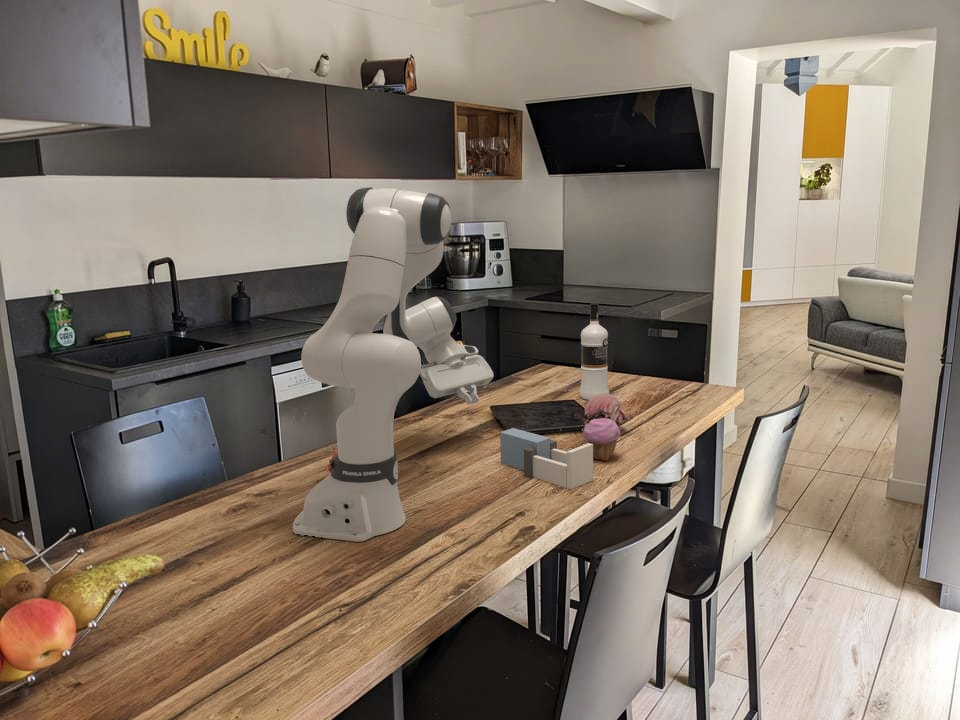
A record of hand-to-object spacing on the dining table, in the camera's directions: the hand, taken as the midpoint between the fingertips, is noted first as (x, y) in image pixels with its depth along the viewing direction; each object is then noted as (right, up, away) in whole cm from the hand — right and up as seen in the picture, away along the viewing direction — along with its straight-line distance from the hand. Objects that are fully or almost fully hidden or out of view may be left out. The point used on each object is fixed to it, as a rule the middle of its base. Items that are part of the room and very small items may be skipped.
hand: (474, 402), depth 197 cm
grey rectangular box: (+12, -15, -10) cm, 21 cm away
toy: (+36, -9, +14) cm, 39 cm away
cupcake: (+31, -13, -5) cm, 35 cm away
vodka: (+38, -1, +51) cm, 63 cm away
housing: (+20, -16, -17) cm, 31 cm away
